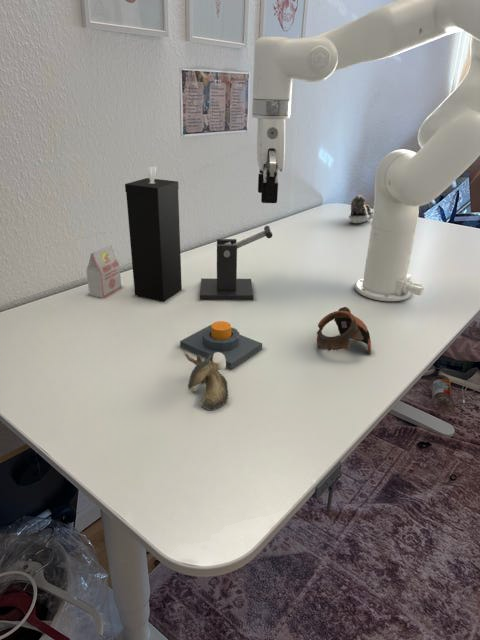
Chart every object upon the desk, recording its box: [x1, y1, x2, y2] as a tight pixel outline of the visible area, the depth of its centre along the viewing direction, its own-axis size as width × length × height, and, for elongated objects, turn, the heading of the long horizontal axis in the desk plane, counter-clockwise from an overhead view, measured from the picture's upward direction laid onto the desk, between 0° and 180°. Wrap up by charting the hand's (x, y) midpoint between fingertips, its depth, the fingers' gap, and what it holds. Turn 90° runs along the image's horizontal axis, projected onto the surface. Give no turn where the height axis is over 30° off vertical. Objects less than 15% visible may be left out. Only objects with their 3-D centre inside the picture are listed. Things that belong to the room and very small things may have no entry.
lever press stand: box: [199, 238, 254, 301], centre depth 108 cm, size 12×10×12 cm
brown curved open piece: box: [316, 306, 372, 355], centre depth 88 cm, size 12×10×8 cm
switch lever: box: [225, 225, 273, 249], centre depth 106 cm, size 12×5×2 cm, turn 92°
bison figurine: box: [348, 195, 373, 224], centre depth 166 cm, size 12×7×10 cm, turn 148°
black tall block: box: [124, 166, 183, 303], centre depth 103 cm, size 8×8×28 cm
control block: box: [179, 323, 263, 370], centre depth 87 cm, size 12×9×3 cm
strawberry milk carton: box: [86, 244, 122, 299], centre depth 107 cm, size 4×7×10 cm, turn 156°
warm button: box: [210, 320, 232, 340], centre depth 86 cm, size 4×4×2 cm
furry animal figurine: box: [184, 352, 229, 412], centre depth 74 cm, size 8×7×9 cm
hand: (267, 197), depth 102 cm, fingers open, 9 cm apart
